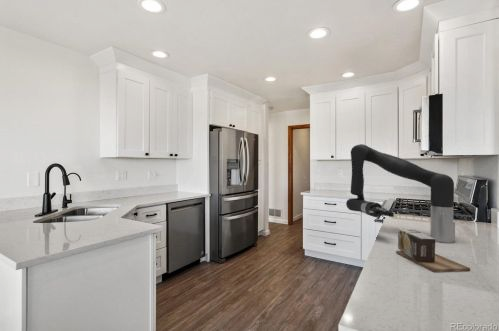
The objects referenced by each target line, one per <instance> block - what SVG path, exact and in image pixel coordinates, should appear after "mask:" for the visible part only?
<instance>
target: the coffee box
mask: <svg viewBox="0 0 499 331" xmlns="http://www.w3.org/2000/svg"><path fill="white" fill-rule="evenodd" d="M397 230H398V231H397V232H398V235H397V241H398V242H397V249H398V251H402V252H404V253H405V254H407V255H408V256H410V257H411V258H413V259H414V260H416V261H417V262H427V263H429V262H435V254H436V241H435V239H434V238H432V237H430V235H427V234H425V233H424V232H423V233H422V232H421V231H420V230H416V229H414V228H405V227H404V228H400V227H399V228H398V229H397Z"/></svg>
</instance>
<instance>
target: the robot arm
mask: <svg viewBox="0 0 499 331" xmlns="http://www.w3.org/2000/svg"><path fill="white" fill-rule="evenodd" d="M350 160H351V180H350V194H351V195H353V196H356V198H348V199H347V200H346V204H345V206H346V208H347V209H348V210H350V211H353V212H359V213H363V214H364V215H367V216H371V217H373V218H378V217H381V216H384V217H389V218H393V217H395V213H394V211H393V208H389V209H388V208H385V207H384V206H382V204H381V203H378V202H374V201H371V200H365V195H364V184H365V177H364V164H365V161H366V162H368V163H373V164H375V165H376V166H378V167H379V168H382V169H383V170H384V171H386V172H387V173H390V174H393V175H395V176H398V177H401V178H404V179H408V180H412V181H415V182H419V183H421V184H422V185H426V186H428V187H429V188H430V220H429V221H430V226H429V228H430V231H429V232H430V234H429V237H432V238H434V239H435V242H438V243H445V244H449V243H450V244H451V243H454V242H456V222H455V221H454V201H455V182H454V180H453V178H452V177H451V176H449V175H447V174H443V173H439V172H435V171H431V170H428V169H425V168H423V167H421V166H419V165H417V164H415V163H413V162H410V161H408V160H406V159H403V158H401V157H397V156H394V155H391V154H388V153H385V152H381V151H379V150H376V149H374V148H372V147H370V146H368V145H366V144H355V145H354V146H353V147H351V149H350Z"/></svg>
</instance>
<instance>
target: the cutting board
mask: <svg viewBox="0 0 499 331" xmlns="http://www.w3.org/2000/svg"><path fill="white" fill-rule="evenodd" d="M395 254H397V255H399V256H400V257H402V258H405V259H407V260H409V261H411V262H413V263H415V264H416V265H418V266H420V267H422V268H424V269H427V270H429V271H430V272H433V273H452V272H455V273H456V272H471V268H470V267H468V266H466V265H464V264H462V263H459V262H456V261H454V260H451V259H449V258H446V257H444V256H442V255H439V254H437V253H435V262H429V263H427V262H417V261H416V260H414V259H413V258H411V257H410V256H408V255H407V254H405V253H404V252H402V251H401V250H396V251H395Z"/></svg>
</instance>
